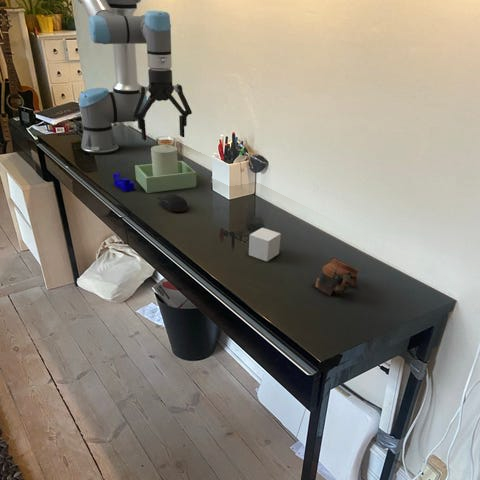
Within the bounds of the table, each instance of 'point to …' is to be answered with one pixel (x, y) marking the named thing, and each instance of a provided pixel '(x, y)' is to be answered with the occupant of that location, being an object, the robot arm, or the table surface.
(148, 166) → the bin
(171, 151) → the can
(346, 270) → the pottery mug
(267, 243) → the white cube
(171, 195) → the gaming mouse
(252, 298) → the table surface
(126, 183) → the cable holder
